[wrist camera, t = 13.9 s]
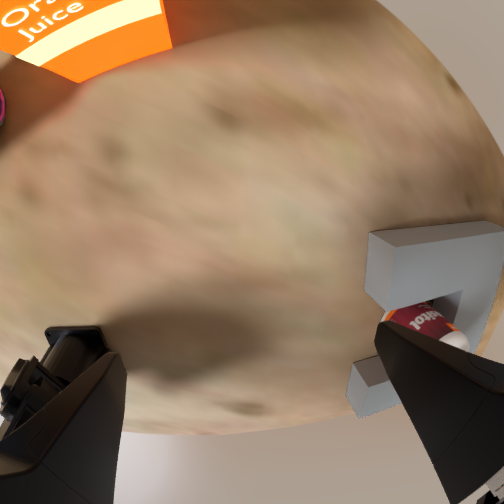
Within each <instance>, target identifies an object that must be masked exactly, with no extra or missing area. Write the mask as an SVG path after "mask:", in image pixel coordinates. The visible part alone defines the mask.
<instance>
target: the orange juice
mask: <svg viewBox="0 0 504 504" xmlns="http://www.w3.org/2000/svg"><path fill="white" fill-rule="evenodd" d="M171 48H172V44H171V39H170V34H169V29H168V25H167V20H166V15H165V10H164V5H163V0H0V50H2V51H5V52H7V53H10V54H12V55H15V56H16V57H17V58H20V59H22V60H24V61H27V62H29V63H32V64H34V65H37V66H41V67H44V68H46V69H48V70H50V71H53V72H55V73H57V74H59V75H62V76H64V77H66V78H68V79H70V80H72V81H74V82H77V83H80V82H82V81H84V80H87V79H89V78H91V77H93V76H95V75H98V74H100V73H102V72H105V71H107V70H110V69H112V68H115V67H117V66H120V65H122V64H125V63H128V62H130V61H133V60H136V59H139V58H142V57H145V56H148V55H151V54H154V53H158V52H161V51H164V50H168V49H171Z"/></svg>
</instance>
